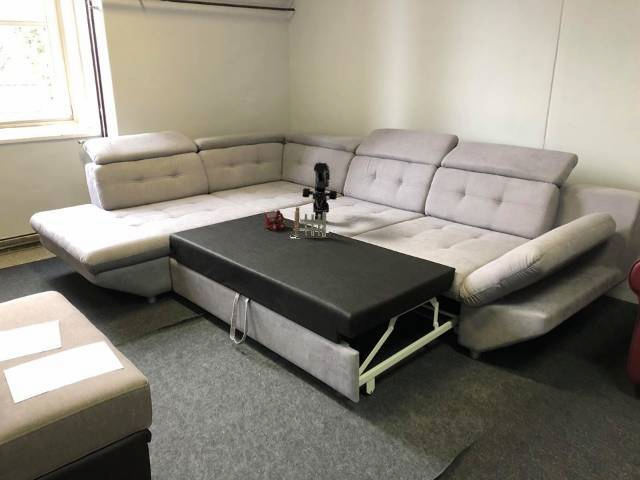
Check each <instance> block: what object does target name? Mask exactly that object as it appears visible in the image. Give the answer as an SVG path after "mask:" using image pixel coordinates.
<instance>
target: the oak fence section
mask: <svg viewBox="0 0 640 480" xmlns="http://www.w3.org/2000/svg"><path fill="white" fill-rule="evenodd" d="M294 230H295V236H298V231H299V230H300V207H299V206H298V207H295V211H294Z"/></svg>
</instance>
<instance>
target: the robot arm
mask: <svg viewBox="0 0 640 480" xmlns="http://www.w3.org/2000/svg"><path fill="white" fill-rule="evenodd" d="M330 170H331V169H330V167H329V164H328V163H327V162H315V164H314V166H313V172H314V177H315V183H314V190H313V191H312V190H311V188H306V187H304V188H303V189H302V197H303V198H306V199H307V198H309V197H310V195H311V196H312V200H314V201H313V202H312V203H313V204H312V211H313V213H312V214H314V220H318V214H321V219H320V220H322V216H323V212H326V214H328V213H329V212H330V204H329V203H328V199H329V200H333V201H335V200H337V196H338V191H337V190H332V189H330V190H329V191H328V192H326V188H329V185H330V183H329V181H330V180H331V171H330ZM327 197H328V199H327ZM327 222H329V221H328V220H326V223H327Z"/></svg>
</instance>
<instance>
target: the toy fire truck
mask: <svg viewBox="0 0 640 480" xmlns="http://www.w3.org/2000/svg"><path fill="white" fill-rule="evenodd" d="M264 218H265V224H264V227H265V229H270V230H271V231H277V229H279V230H283V229H282V228H284V229H285V228H286V219H285V217H284V215H283V212H281V210H280V209H277V210H273V211H266V212H264Z"/></svg>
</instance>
